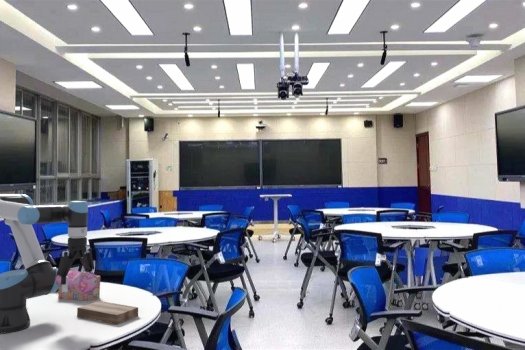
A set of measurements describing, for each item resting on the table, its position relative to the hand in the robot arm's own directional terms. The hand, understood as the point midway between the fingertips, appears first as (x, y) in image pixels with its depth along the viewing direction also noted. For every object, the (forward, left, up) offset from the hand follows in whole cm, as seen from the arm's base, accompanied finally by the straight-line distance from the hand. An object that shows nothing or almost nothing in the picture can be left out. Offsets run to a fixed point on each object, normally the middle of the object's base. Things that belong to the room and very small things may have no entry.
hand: (75, 289), depth 168 cm
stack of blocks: (+34, +39, -17) cm, 54 cm away
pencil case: (0, 0, -1) cm, 1 cm away
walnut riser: (+18, 0, -16) cm, 24 cm away
